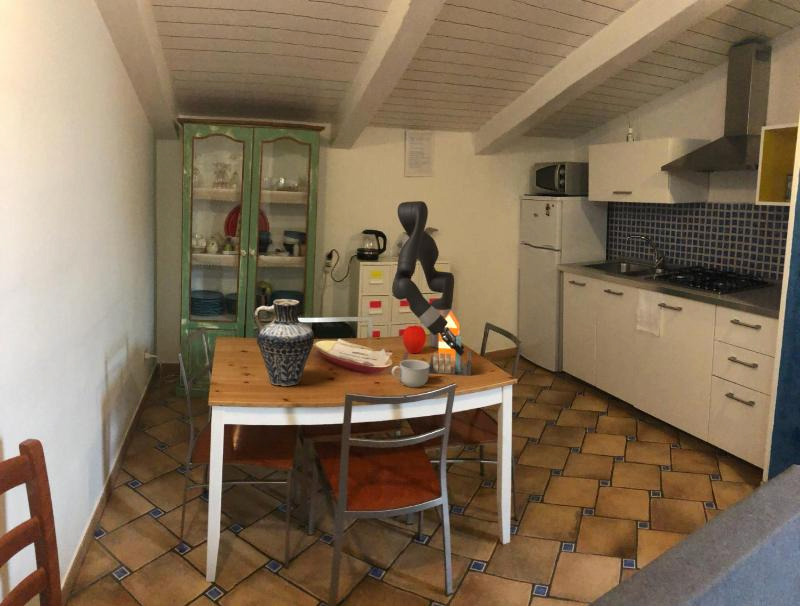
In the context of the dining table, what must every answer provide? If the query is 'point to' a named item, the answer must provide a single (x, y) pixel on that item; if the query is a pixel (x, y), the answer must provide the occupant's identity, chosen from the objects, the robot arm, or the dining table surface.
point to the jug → (284, 342)
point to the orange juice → (454, 327)
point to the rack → (464, 369)
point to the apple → (414, 338)
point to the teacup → (412, 372)
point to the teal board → (457, 356)
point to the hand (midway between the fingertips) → (462, 351)
